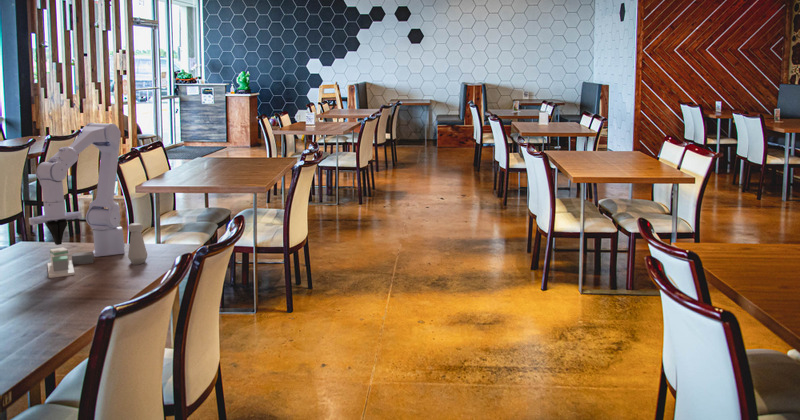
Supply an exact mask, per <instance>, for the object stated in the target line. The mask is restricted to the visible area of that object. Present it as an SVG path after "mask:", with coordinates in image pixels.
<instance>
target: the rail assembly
mask: <svg viewBox="0 0 800 420" xmlns="http://www.w3.org/2000/svg"><path fill="white" fill-rule="evenodd" d="M52 260H53V266H52V265H51V262H47V270H48V278H49V279H53V278H60V277H68V276H75V269H74V265H73V264H72V259H69V265H68V258H67V256H59V257H52Z"/></svg>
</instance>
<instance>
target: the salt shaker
mask: <svg viewBox="0 0 800 420" xmlns="http://www.w3.org/2000/svg"><path fill="white" fill-rule="evenodd" d="M143 228H144V227H143V224H142V223H139V222H133V223H132V222H131V223H130V224H129V225H128V228H127V230H128V232H130V235H129V236H130V237H129V246H128V255H127V256H128V259H129V261H130V264H131V265H142V264H145V263H146V260H147V259H148V251H147V248H146V245H145V241H144V237H143V233H142V231H143Z"/></svg>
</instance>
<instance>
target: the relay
mask: <svg viewBox="0 0 800 420" xmlns="http://www.w3.org/2000/svg"><path fill="white" fill-rule="evenodd" d="M94 258H95V257H94V254H93V251H85V252H84V251H83V252H73V253H72V254H71V260H72V264H73V266H74V265H82V264H83V265H84V264H85V265H86V264H94V260H95V259H94Z"/></svg>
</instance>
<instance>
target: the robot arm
mask: <svg viewBox="0 0 800 420" xmlns="http://www.w3.org/2000/svg"><path fill="white" fill-rule="evenodd" d="M121 134H122V131H121V130H120V128H119V127H118V125H117V124H116V123H98V122H97V123H96V122H95V123H94V122H88V123H87V124H86V125H85V126H83V127H82V132H81V133H80V134H79V136H77V137H76V139H75V140H74V141H73V142H72V143H71V144H69V146H61V147H60V148H58V151H57V152H56V153H55V154H54V155H53V156H50V158H48V160H47V161H43V162H41V163H39V164H38V165H37V167H36V170H35V176H36V178H37V179H38V181H39V185H40V187H41V190H42V201H43V208H44V210H43V212H44V214H43V215H38V216H33V217H28V225H30V226H35V225H38V224H39V225H40V224H45V226H46V227H47V229H48V231H49V232H50V234H51V237H52V239H53V241H54V245H56V246H60V245H62V242H63V236H64V233H65V230H66V227H67V226H68V220H69V221H70V220H76V219H77V220H80V219H82V212H81V211H71V212H70V211H69V212H66V204H65V195H64V193H65V192H64V185H63V184H64V183H63V180H65V179H66V177H67V173H68V171H69V169H70V168H71V167H72V166H73V165H74V164H75V163H76V162H78V160H79V155H80V154H81V153H82V152H83V151H84V150H86V149H88V147H90V146H91V145H92V146H93V147H95V148H97V149H98V150H99V151H100V153H101V155H100V162H99V163H100V164H99V170H98V171H99V172H98V177H97V186H96V187H97V188H96V198H95V199H94V200H92V201H91V202H90V203H89V206H88V209H87V211H86V215H85V221H86V223H87V224H88V226H90V229H92V235H93V236H92V237H93V247H94V250H92V252H93V256H94V258H97V257H107V256H115V255H124V254H126V252H125V250H126V249H125V245H126V244H125V241H124V240H125V239H124V231H123V230H124V229H123V227H122V226H119V224H120V223H121V219H122V218H121V217H122V216H121V212H120V209H121V207H120V205H119V204H118V202H116V201H115V200H114V199H115V189H116V180H117V172H118V164H119V163H118V161H119V153H120V144H121V136H122V135H121Z"/></svg>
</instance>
